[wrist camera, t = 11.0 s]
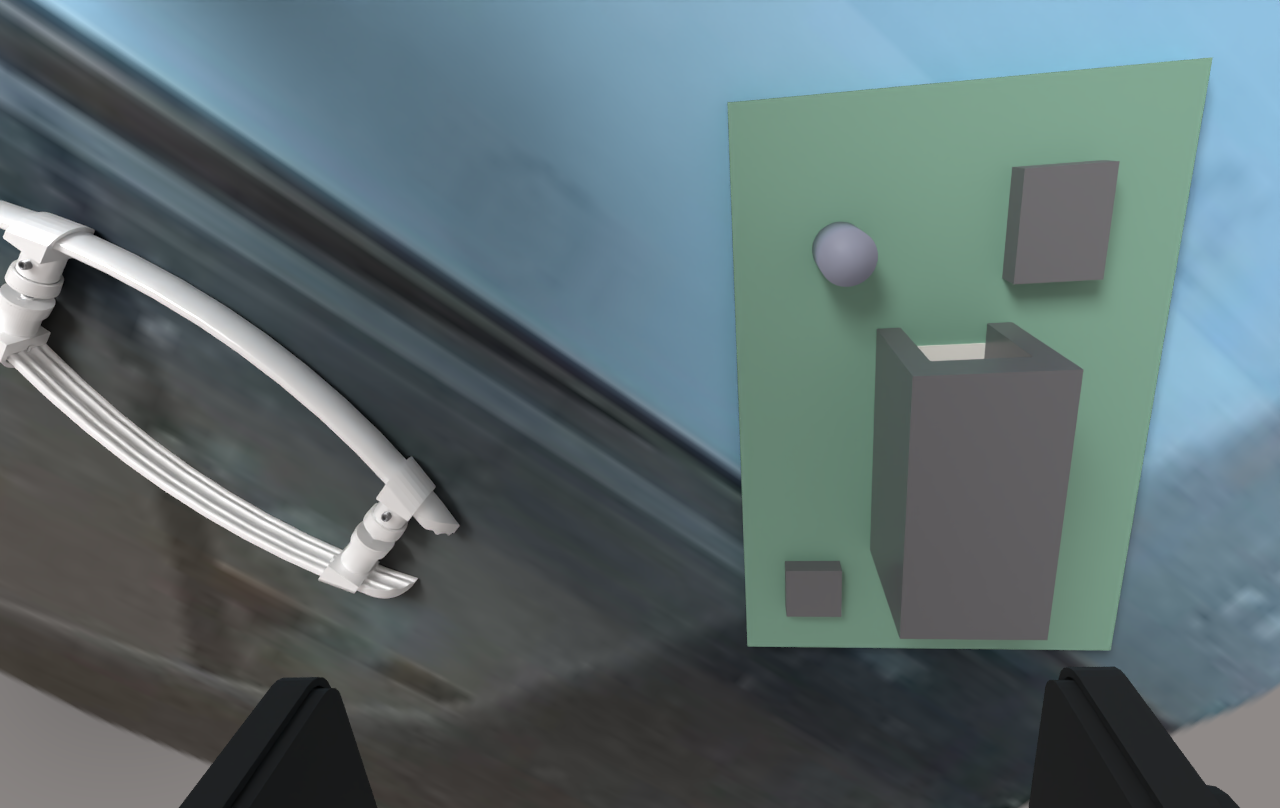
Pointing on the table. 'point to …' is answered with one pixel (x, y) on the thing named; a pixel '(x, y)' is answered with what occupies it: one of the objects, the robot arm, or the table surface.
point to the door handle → (16, 339)
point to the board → (947, 309)
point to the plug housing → (971, 484)
